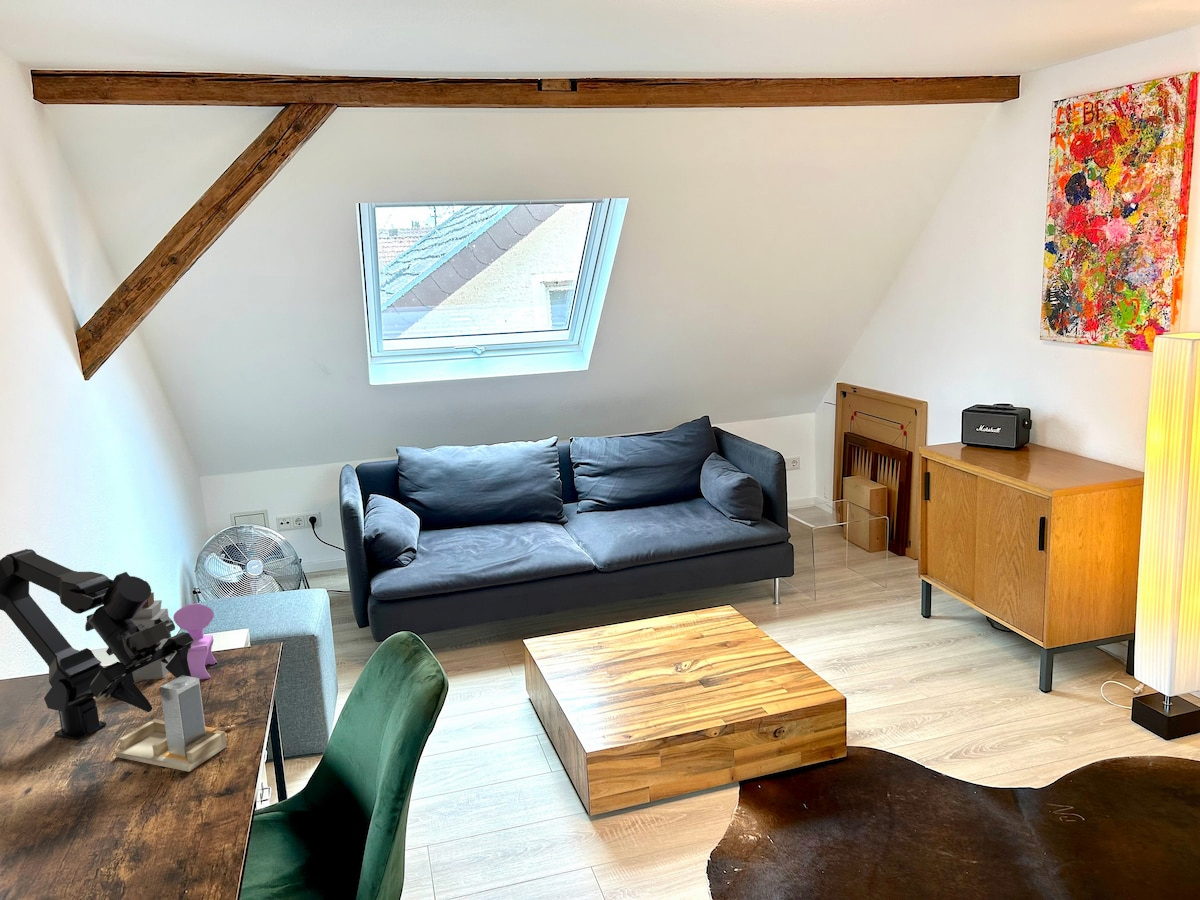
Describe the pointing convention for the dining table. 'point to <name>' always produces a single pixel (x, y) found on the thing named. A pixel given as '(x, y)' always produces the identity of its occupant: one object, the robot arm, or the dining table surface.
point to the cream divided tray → (153, 747)
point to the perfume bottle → (147, 618)
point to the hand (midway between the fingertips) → (172, 699)
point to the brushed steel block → (183, 715)
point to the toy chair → (197, 637)
